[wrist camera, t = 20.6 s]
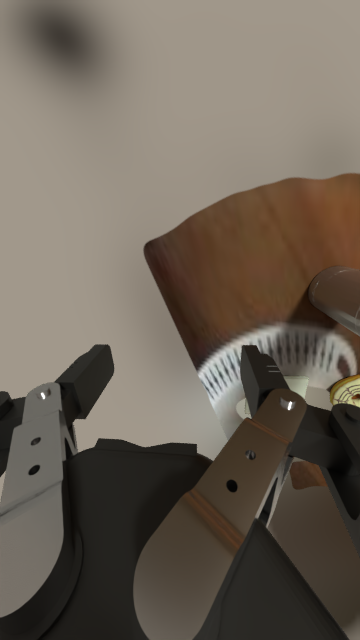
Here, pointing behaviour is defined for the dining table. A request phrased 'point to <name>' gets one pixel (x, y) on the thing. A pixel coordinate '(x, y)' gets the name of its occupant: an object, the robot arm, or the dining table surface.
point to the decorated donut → (346, 391)
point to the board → (291, 387)
